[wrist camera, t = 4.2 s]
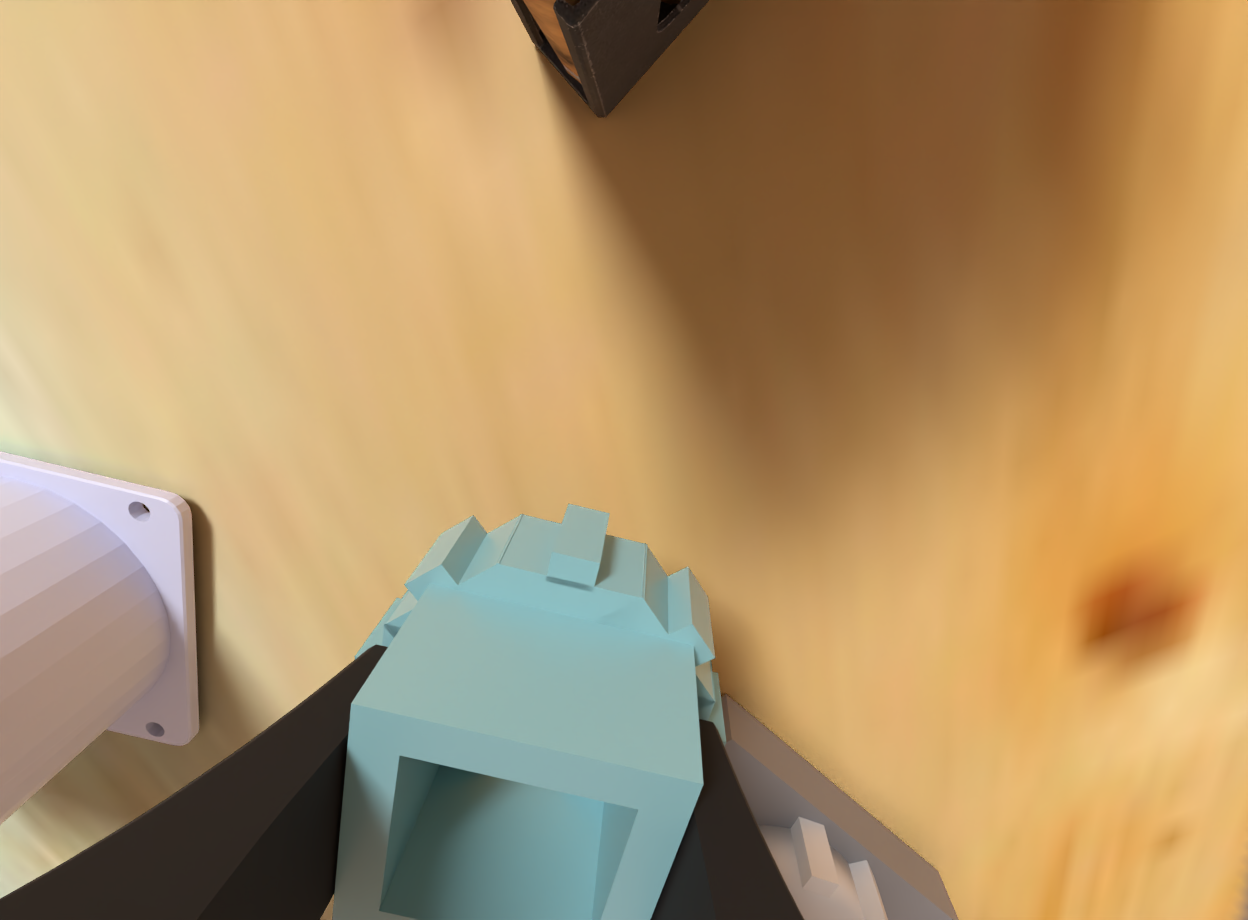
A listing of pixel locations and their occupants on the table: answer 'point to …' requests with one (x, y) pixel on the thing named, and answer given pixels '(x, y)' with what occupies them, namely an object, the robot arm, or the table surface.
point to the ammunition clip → (604, 41)
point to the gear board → (827, 836)
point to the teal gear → (527, 730)
